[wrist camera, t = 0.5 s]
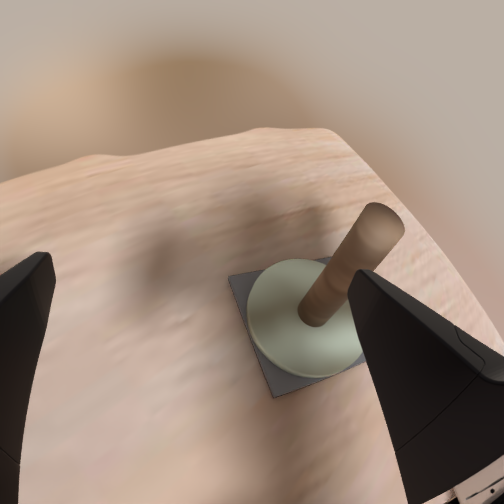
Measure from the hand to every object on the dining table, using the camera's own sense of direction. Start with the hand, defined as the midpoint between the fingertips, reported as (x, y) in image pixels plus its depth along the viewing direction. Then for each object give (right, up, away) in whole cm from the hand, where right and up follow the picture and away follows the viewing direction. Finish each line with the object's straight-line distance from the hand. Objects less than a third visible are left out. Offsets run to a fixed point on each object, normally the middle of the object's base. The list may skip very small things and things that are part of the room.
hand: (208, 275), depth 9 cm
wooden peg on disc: (+6, -5, +18) cm, 20 cm away
